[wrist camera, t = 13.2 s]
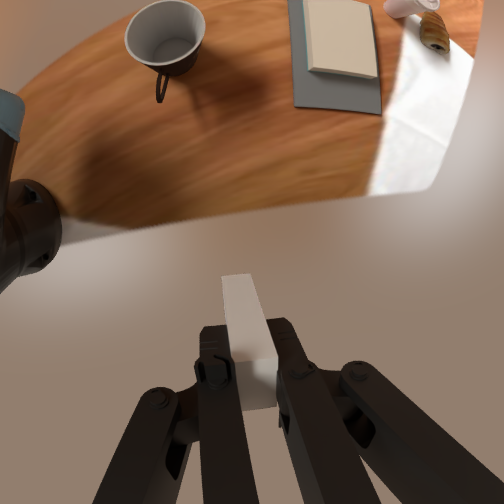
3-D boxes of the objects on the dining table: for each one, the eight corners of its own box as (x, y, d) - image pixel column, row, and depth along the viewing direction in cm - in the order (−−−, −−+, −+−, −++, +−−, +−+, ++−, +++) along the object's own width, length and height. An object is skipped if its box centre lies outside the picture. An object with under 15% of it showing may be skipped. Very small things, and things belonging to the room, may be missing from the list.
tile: (313, 67, 32) (306, -9, 27) (307, 71, 34) (301, -2, 29) (377, 76, 33) (368, 4, 28) (368, 79, 35) (361, 9, 31)
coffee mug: (165, 21, 29) (154, -10, 20) (217, 44, 32) (221, 15, 22) (120, 88, 32) (95, 74, 23) (172, 112, 34) (160, 102, 25)
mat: (293, 106, 36) (295, 106, 36) (286, -10, 29) (287, -11, 29) (379, 114, 38) (381, 114, 38) (368, 6, 31) (370, 5, 30)
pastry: (415, 5, 31) (427, 0, 27) (440, 20, 32) (452, 16, 28) (418, 44, 34) (431, 40, 31) (443, 58, 35) (457, 55, 32)
